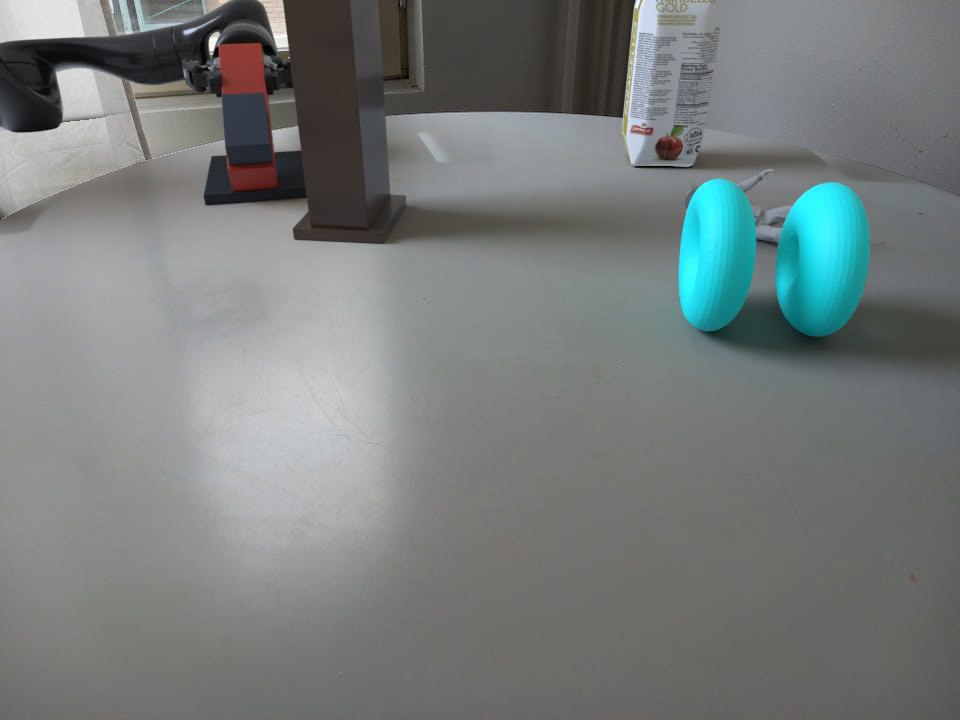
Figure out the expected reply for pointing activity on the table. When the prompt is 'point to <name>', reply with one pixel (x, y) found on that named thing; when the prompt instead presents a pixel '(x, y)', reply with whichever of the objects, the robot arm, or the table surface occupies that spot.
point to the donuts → (799, 260)
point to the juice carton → (669, 79)
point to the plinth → (341, 120)
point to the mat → (288, 187)
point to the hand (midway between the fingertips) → (244, 85)
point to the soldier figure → (758, 210)
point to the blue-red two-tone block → (247, 118)
